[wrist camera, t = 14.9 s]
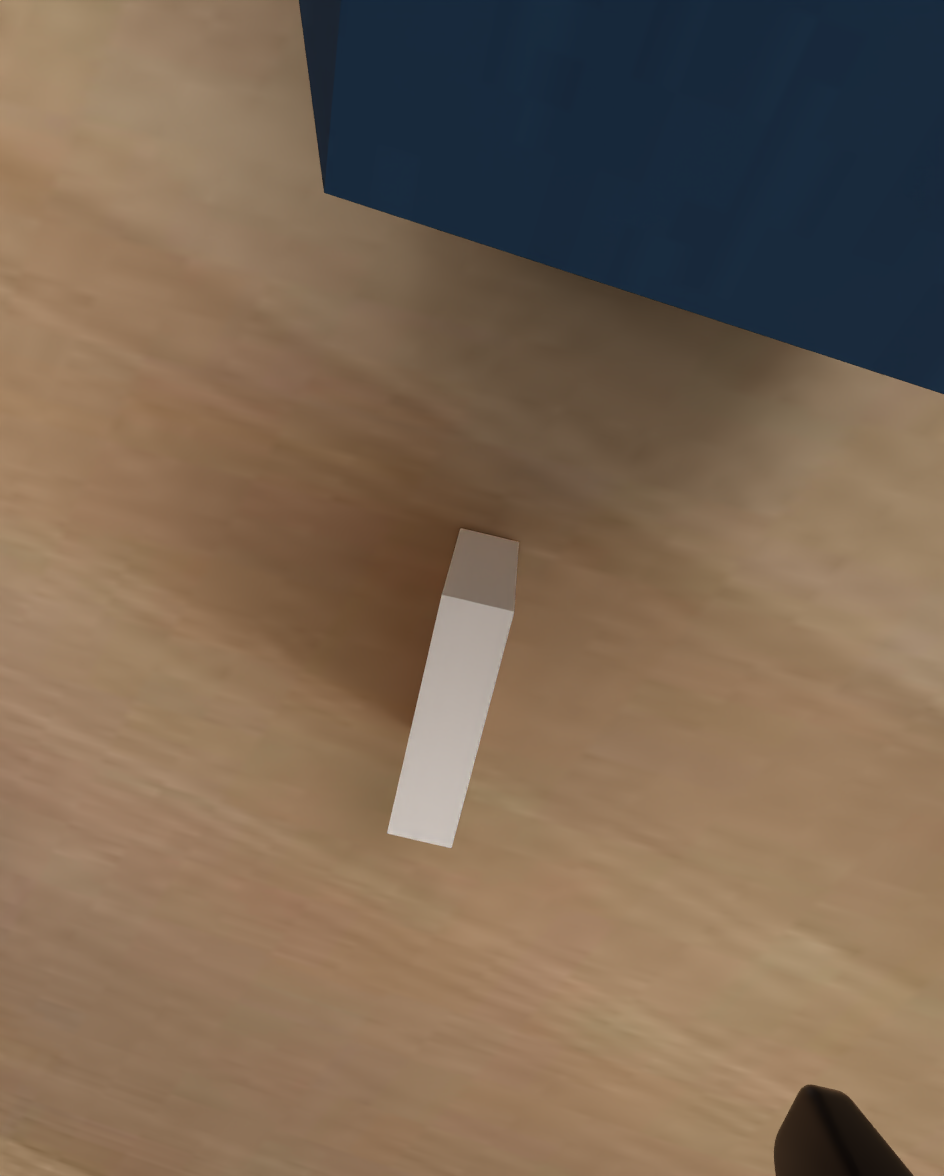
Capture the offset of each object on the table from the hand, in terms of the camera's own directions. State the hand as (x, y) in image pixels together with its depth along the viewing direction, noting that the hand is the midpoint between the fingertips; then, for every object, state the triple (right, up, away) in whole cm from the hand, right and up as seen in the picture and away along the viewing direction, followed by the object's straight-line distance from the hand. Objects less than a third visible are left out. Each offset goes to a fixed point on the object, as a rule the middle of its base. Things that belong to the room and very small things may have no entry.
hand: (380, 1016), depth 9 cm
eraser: (+1, +3, +9) cm, 10 cm away
